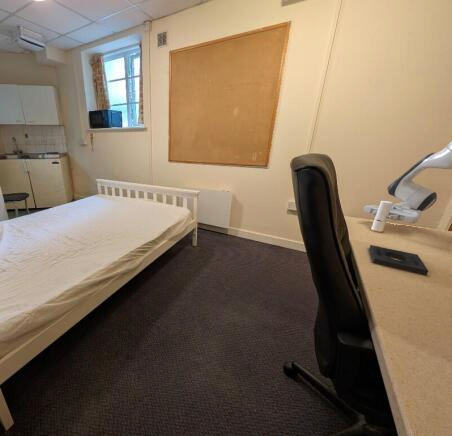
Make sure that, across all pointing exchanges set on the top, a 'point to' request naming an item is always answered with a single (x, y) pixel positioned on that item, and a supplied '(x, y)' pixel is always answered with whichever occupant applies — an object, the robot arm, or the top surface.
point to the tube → (381, 216)
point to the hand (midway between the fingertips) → (381, 215)
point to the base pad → (408, 260)
